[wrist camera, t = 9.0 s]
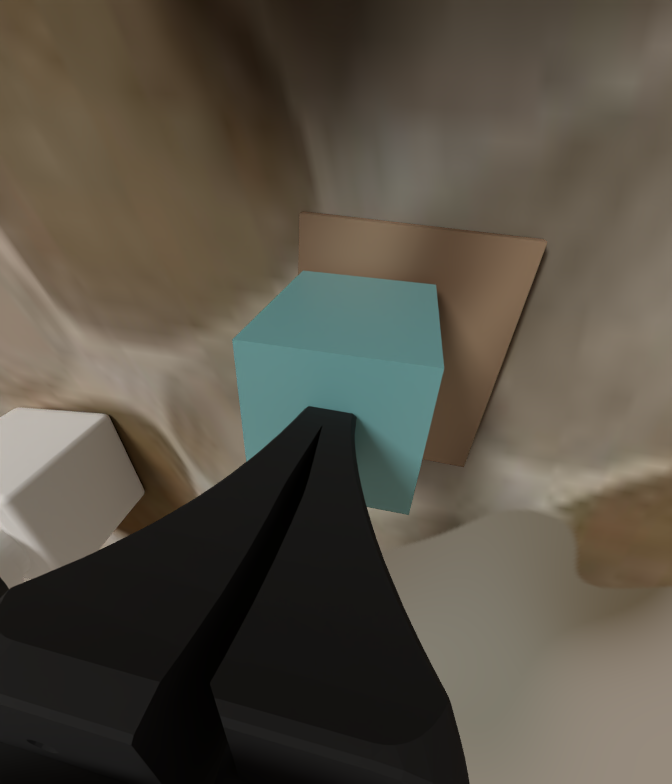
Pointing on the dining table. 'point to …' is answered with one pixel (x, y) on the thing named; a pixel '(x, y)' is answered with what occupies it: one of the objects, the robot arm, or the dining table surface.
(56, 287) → the dining table surface
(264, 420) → the teal rectangular block
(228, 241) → the dining table surface
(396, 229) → the tan flat board
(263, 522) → the robot arm
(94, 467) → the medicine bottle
